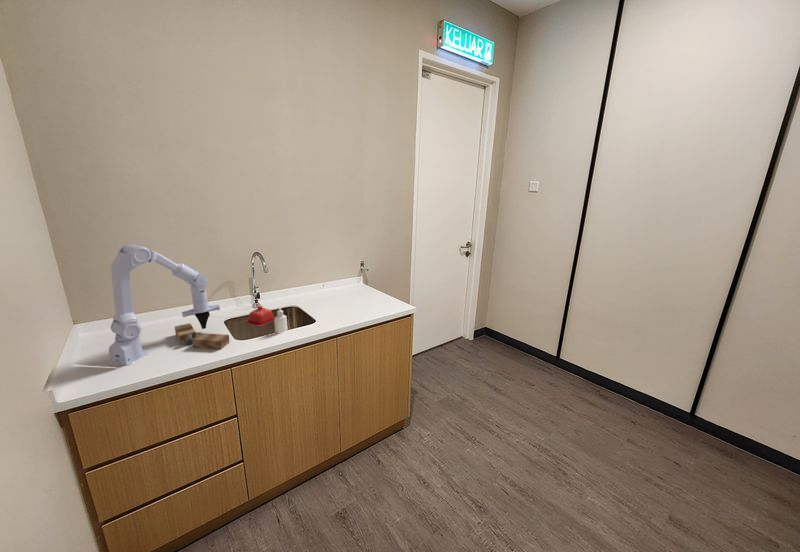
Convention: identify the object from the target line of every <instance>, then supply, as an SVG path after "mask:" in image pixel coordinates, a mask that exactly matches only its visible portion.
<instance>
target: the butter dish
mask: <svg viewBox="0 0 800 552" xmlns="http://www.w3.org/2000/svg"><path fill="white" fill-rule="evenodd" d="M276 317H277V316H274V314H273V311H272V310H271V309H269V308H265V307H264V306H263V305H258V306H257V309H254V310H252V311H250V312H249V315H248V319H247V320H245V321H244V323H247V324H250V325H254V326H257V327H263V326H265V325H266V324H269V323H271V322H273V321H274V319H275V318H276Z"/></svg>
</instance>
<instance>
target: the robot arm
mask: <svg viewBox="0 0 800 552" xmlns="http://www.w3.org/2000/svg"><path fill="white" fill-rule="evenodd" d="M147 262H148V263H155V264H158V265H160V266H162V267H164V268H166V269H168V270H171V273H172V275H173V276H174V277H176V278H178V279H180V280H182V281H184V282H186V283H187V284H188V285H189V286H190V292H191V300H192V309H188V310H185V311H181V315H182V318H186V317H189V316H195V317H196V319H197V321H198V322H199V324H200V327H201V329H202V330H204V329H207V323H208V319H209V317H210V312H214V311H220V310H221V307H220V305H219V304H215V305H209V301H208V294H207V285H208V282H209V279H208V277H206V275H205V274H203V273H199V271H198V270H197V269H193V268H191V267H190V266H189V264H187V263H176V262H174V261H173V260H171V259H170V258H168V257H165V256H164V255H162V254H160V252H157V251H155V250H152V249H149V248H148V247H145V246H141V245H136V244H133V243H128V244H125V245H124V246H122V247H121V248H119V249H118V250H117V254H116V256H115V258H114V260H113V261H112V264H110V273H111V274H110V275H111V282H112V283H111V284H112V293H113V302H114V310H115V311H114V312H115V314H114V315H113V316H112V322H111V325H110V330H111V332H113V334H115V337H114V342H113V343H112V344H111V345H109V346H108V353H109V354H108V355H109V358H110V363H109V365H114V366H115V365H117V366H129V367H130V366H131V365H133V364H134V363H136V362H138V361H139V360H141V359H143V358H144V357H146V356H148V355H149V354H150V352H144V351H143V345H142V340H141V335H140V334H141V332H142V328H141V326H140V324H139V323H138V319H137V316H136V314H135V312H134V311H135V310H134V302H133V292H132V281H131V280H132V279H131V271H133V270H134V269H136V267H138V266H141V265H144V264H146V263H147Z"/></svg>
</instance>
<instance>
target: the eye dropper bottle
mask: <svg viewBox="0 0 800 552" xmlns="http://www.w3.org/2000/svg"><path fill="white" fill-rule="evenodd" d="M276 314H277V316H275V317H276V318H275V319H274V333H275V334H278V333H279V334H283V333H284V332H287V331H288V318H287V317H288V316H287V315H285V314H284V310H282V308H281V307H279V308H278V310H277V311H276Z"/></svg>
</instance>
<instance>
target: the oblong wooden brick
mask: <svg viewBox="0 0 800 552" xmlns="http://www.w3.org/2000/svg"><path fill="white" fill-rule="evenodd" d="M192 343H193V344H192V348H193V349H208V350H222V349H223V348H225V347H226V346H228V345H229V344H230V335H229V334H223V333H221V334H220V333H207V332H206V333H205V332H201V333H200V334H198V335H196V337H195V338H193V339H192Z"/></svg>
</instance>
